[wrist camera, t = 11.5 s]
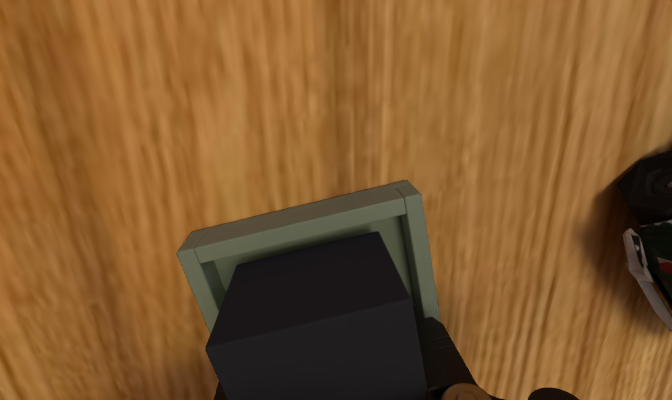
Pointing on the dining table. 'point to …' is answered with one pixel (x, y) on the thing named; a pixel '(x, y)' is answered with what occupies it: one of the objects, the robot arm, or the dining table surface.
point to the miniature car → (651, 228)
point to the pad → (319, 327)
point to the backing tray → (315, 242)
